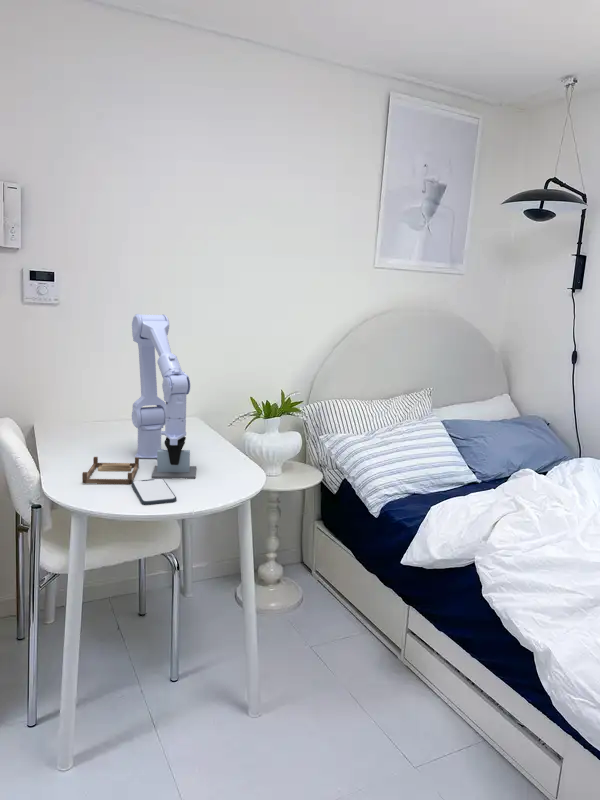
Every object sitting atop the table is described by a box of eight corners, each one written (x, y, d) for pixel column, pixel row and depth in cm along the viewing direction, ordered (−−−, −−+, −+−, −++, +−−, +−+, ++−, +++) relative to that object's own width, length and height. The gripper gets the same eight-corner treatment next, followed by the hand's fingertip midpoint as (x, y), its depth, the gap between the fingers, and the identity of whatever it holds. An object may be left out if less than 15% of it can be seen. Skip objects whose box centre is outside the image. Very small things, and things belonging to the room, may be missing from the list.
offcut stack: (99, 468, 170) (99, 462, 170) (131, 468, 171) (131, 463, 171) (97, 471, 167) (97, 465, 167) (130, 471, 168) (130, 466, 168)
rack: (94, 466, 171) (94, 456, 170) (138, 467, 173) (138, 457, 172) (82, 484, 156) (82, 473, 155) (131, 484, 158) (131, 473, 157)
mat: (155, 467, 173) (155, 465, 173) (196, 468, 175) (196, 466, 175) (151, 478, 164) (151, 476, 163) (195, 478, 165) (195, 476, 165)
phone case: (178, 504, 147) (163, 483, 161) (178, 498, 147) (163, 477, 161) (142, 508, 143) (130, 486, 157) (142, 502, 143) (130, 480, 157)
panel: (157, 469, 169) (158, 449, 168) (189, 470, 171) (189, 450, 170) (157, 471, 167) (157, 451, 166) (189, 472, 169) (189, 452, 168)
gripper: (163, 411, 173) (162, 456, 175) (158, 422, 159) (158, 470, 161) (187, 412, 174) (186, 456, 176) (185, 422, 160) (184, 470, 162)
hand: (174, 463), depth 169 cm, fingers closed on panel, 2 cm apart
